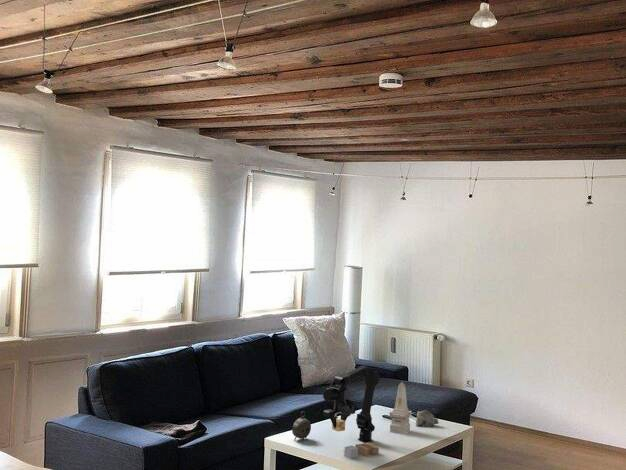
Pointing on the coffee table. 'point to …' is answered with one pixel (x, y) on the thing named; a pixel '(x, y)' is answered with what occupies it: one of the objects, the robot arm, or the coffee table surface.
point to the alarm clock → (301, 428)
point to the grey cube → (351, 452)
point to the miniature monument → (400, 413)
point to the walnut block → (367, 449)
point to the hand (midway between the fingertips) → (338, 427)
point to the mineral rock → (425, 419)
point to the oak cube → (339, 425)
